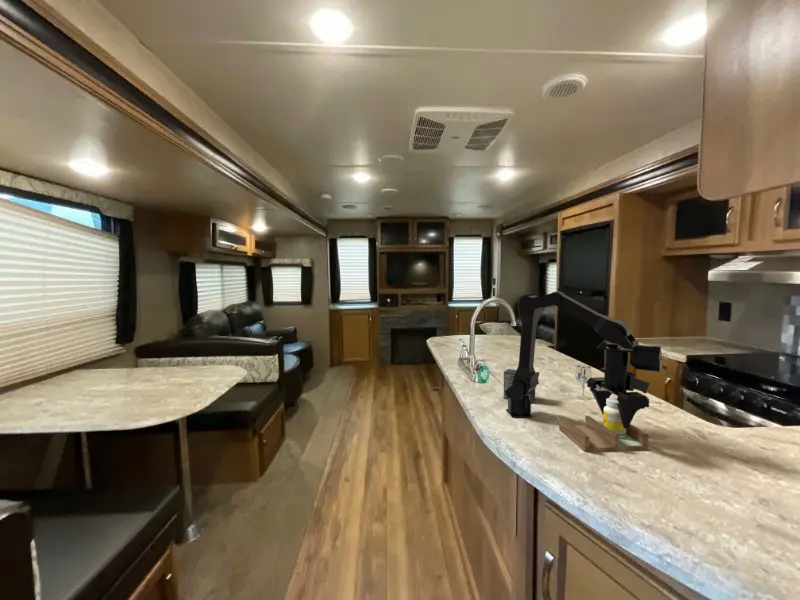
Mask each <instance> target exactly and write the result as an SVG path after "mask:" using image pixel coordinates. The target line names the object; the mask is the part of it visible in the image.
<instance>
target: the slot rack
mask: <svg viewBox="0 0 800 600" xmlns="http://www.w3.org/2000/svg"><path fill="white" fill-rule="evenodd" d="M584 419H585V422H584V425H574V424H573V423H572V422H570V420H568V419H567V418H565V416H559V417H558V424H559V425H558V429H559V432H561V433H562V434H564V435H565V436H566V437H567V438H568V439H569V440H571V442H573V443H574V444H575V445H576V446H577V447H579V448H580V449H581V450H582V451H583V452H585V453H589V452H591V453H592V452H622V451H648V450H649V437H650V435H649V434H648V433H646V432H644V431H642V430H641V429H639V428H638V427H636V426H635V425H633V424H631V423H630V425H629V427H628V428H626V436H625V437H623V438H619V436H618V435H617V434H615V433H614V432H612V431H611V430H609V429H608V428H606V427H605V426H604V424H602V423H601V422H599V421H597V420H596V419H595V418H593V417H591V416H590V415H585V418H584Z"/></svg>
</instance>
